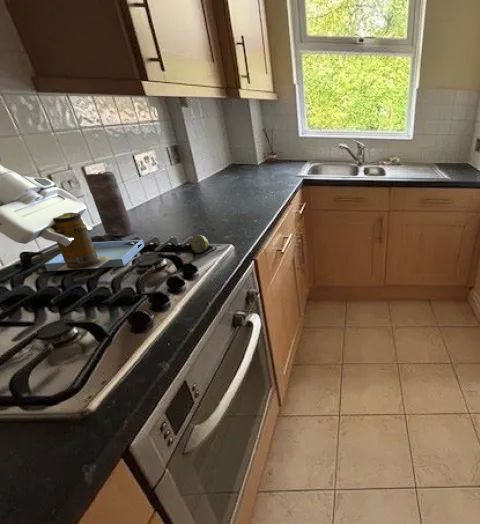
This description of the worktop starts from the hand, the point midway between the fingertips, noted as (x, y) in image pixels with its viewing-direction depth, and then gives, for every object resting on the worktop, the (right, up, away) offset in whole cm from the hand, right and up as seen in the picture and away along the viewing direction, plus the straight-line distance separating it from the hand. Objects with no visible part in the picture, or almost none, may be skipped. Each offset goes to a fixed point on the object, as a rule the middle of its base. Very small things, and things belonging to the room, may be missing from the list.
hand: (80, 237), depth 77 cm
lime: (+18, -3, +20) cm, 27 cm away
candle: (-15, +3, +32) cm, 35 cm away
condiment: (-1, -6, +3) cm, 7 cm away
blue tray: (-8, -5, +15) cm, 17 cm away
